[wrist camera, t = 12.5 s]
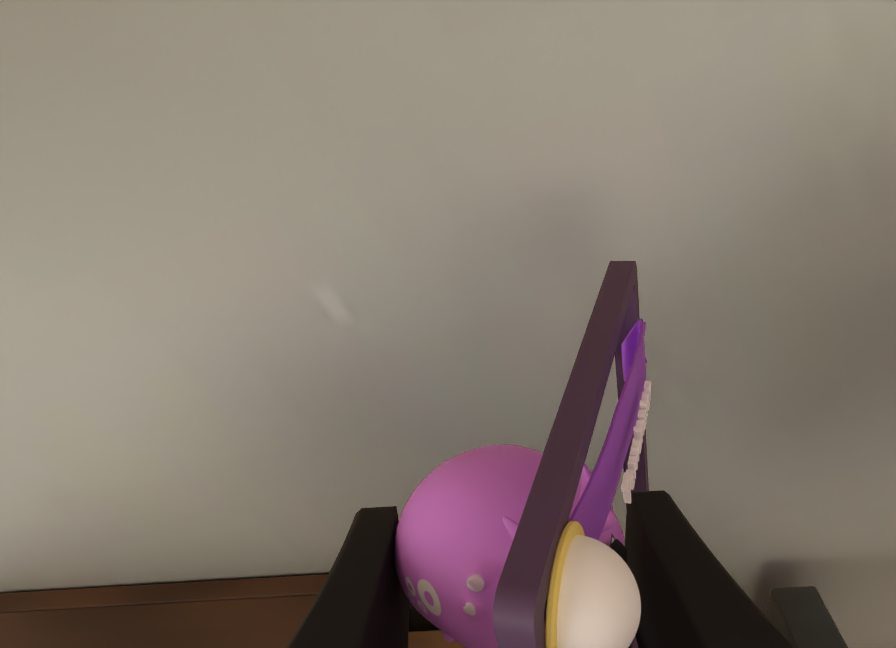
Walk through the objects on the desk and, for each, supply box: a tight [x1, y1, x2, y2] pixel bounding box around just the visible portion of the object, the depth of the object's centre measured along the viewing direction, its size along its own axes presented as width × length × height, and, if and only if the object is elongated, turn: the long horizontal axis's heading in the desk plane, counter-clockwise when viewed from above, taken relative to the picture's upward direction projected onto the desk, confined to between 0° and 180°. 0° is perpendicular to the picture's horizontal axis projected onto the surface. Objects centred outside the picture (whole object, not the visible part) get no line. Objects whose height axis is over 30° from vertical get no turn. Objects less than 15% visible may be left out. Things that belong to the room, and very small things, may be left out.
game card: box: [394, 261, 651, 648], centre depth 12 cm, size 7×5×9 cm
